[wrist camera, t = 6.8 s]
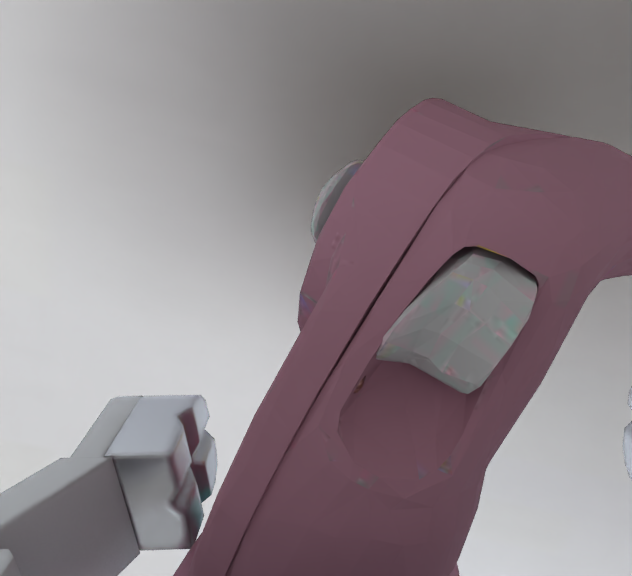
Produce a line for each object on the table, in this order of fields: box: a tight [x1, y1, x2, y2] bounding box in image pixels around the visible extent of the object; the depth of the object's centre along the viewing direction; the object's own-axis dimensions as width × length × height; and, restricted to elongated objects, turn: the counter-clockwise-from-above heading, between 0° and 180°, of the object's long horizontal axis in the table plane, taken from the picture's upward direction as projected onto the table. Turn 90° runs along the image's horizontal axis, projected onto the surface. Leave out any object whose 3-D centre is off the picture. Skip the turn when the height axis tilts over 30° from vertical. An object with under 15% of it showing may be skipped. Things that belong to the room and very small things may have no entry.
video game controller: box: [173, 98, 632, 576], centre depth 9 cm, size 10×5×7 cm, turn 159°
